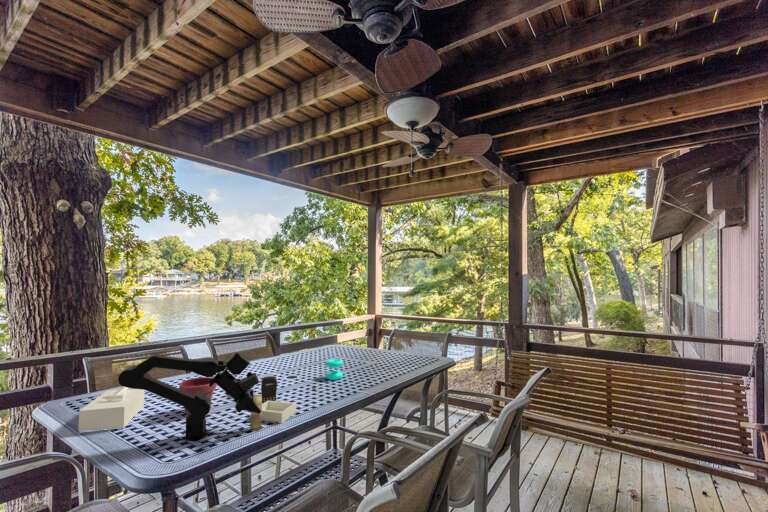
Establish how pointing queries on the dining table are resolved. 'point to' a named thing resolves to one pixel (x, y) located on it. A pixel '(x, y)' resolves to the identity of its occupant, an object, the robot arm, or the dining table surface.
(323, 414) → the dining table surface
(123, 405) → the tissue box
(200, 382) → the plant pot
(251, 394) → the robot arm
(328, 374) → the teal hourglass-shaped piece
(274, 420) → the tray
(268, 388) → the battery charger
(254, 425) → the pin
